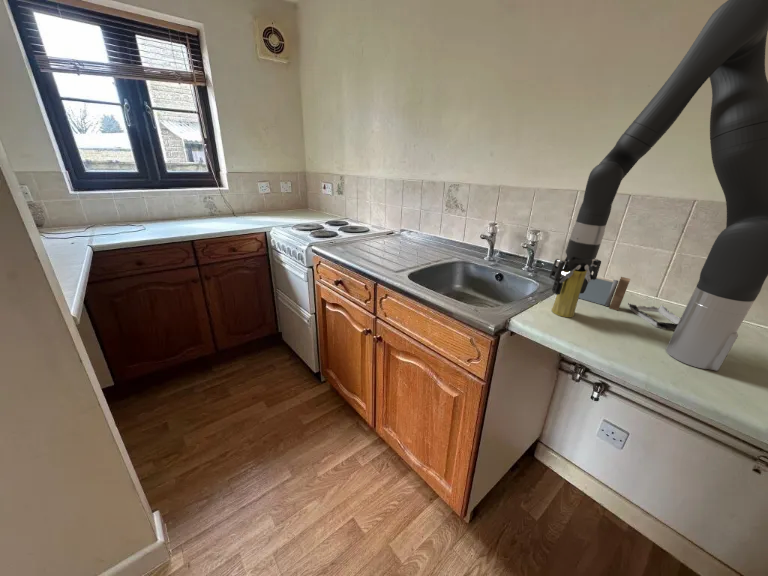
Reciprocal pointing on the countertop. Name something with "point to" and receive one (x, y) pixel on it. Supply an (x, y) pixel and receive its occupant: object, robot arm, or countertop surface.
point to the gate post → (619, 293)
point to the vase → (569, 295)
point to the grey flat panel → (600, 291)
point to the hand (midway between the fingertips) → (567, 293)
